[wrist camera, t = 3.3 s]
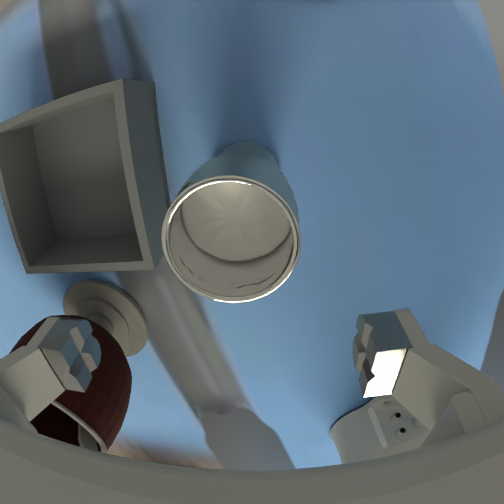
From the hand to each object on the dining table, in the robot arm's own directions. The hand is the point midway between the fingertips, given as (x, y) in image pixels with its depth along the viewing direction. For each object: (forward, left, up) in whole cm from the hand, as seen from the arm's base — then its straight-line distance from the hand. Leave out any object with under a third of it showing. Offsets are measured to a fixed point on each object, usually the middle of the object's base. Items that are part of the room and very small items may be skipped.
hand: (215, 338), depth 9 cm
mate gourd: (+19, +17, -22) cm, 34 cm away
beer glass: (0, 0, -22) cm, 22 cm away
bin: (+15, -2, -21) cm, 26 cm away
